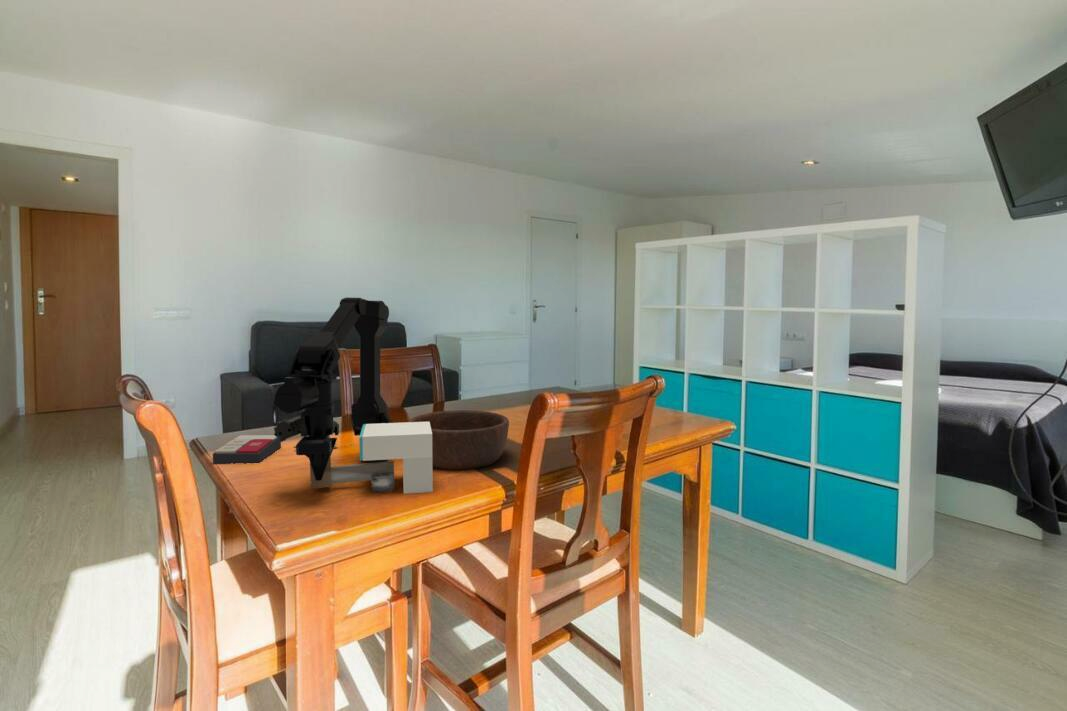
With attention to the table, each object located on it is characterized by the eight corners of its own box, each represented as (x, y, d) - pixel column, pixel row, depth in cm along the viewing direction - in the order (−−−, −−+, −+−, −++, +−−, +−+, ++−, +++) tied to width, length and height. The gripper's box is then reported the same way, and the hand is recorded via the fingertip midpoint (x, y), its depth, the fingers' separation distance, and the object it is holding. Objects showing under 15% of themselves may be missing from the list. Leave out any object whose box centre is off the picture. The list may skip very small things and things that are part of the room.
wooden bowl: (521, 450, 156) (521, 413, 155) (489, 478, 132) (489, 434, 131) (435, 443, 163) (435, 407, 162) (390, 468, 139) (389, 426, 138)
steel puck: (371, 485, 126) (371, 473, 126) (394, 484, 127) (394, 471, 127) (371, 492, 121) (370, 479, 121) (394, 491, 123) (394, 478, 122)
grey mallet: (311, 481, 124) (310, 450, 123) (393, 474, 130) (392, 443, 129) (311, 488, 120) (309, 455, 119) (394, 480, 126) (394, 448, 125)
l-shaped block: (364, 478, 131) (363, 423, 130) (429, 474, 134) (429, 421, 133) (360, 496, 119) (359, 436, 118) (432, 492, 122) (432, 433, 121)
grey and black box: (211, 450, 140) (238, 433, 155) (212, 468, 141) (239, 448, 156) (258, 450, 141) (280, 433, 156) (259, 467, 142) (281, 448, 157)
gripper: (285, 397, 128) (287, 466, 130) (266, 414, 110) (269, 494, 112) (338, 395, 131) (340, 463, 132) (328, 412, 112) (330, 490, 114)
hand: (320, 476), depth 122 cm, fingers closed on grey mallet, 4 cm apart
